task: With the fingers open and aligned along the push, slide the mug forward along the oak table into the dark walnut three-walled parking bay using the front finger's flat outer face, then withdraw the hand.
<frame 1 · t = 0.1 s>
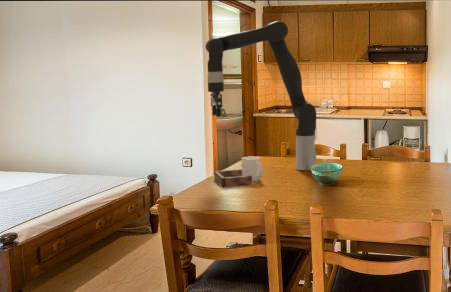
hand: (216, 115, 241), 29 cm above the table, fingers open, 8 cm apart
bay: (233, 182, 230), on the table
mug: (253, 181, 232), on the table
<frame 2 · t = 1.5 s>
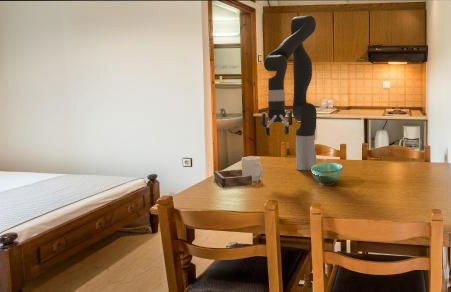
hand: (277, 135, 232), 20 cm above the table, fingers open, 8 cm apart
nothing on the table moved.
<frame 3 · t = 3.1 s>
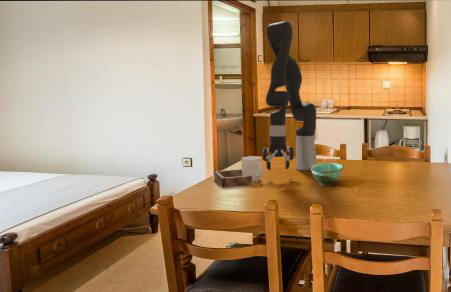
hand: (277, 169, 234), 4 cm above the table, fingers open, 8 cm apart
nothing on the table moved.
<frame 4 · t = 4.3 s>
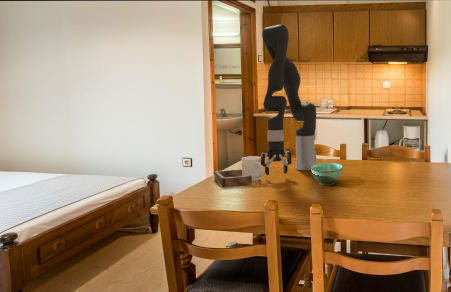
hand: (276, 174, 234), 2 cm above the table, fingers open, 8 cm apart
nothing on the table moved.
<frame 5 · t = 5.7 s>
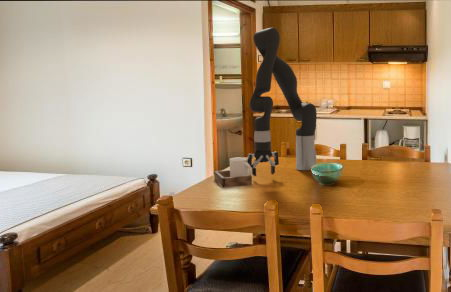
hand: (263, 175, 233), 2 cm above the table, fingers open, 8 cm apart
mug: (242, 181, 231), on the table, touching hand
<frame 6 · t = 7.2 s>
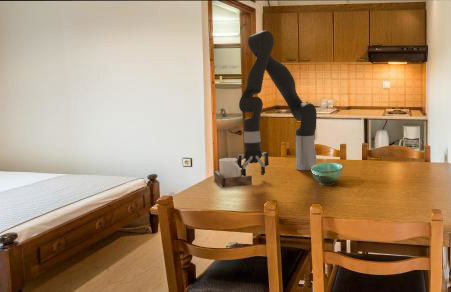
hand: (253, 175, 232), 2 cm above the table, fingers open, 8 cm apart
mug: (231, 182, 230), on the table, touching bay, hand
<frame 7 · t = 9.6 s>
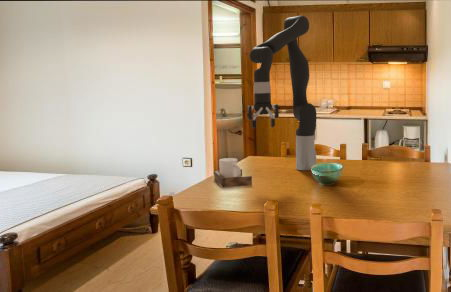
hand: (263, 127, 230), 24 cm above the table, fingers open, 8 cm apart
mug: (231, 182, 230), on the table
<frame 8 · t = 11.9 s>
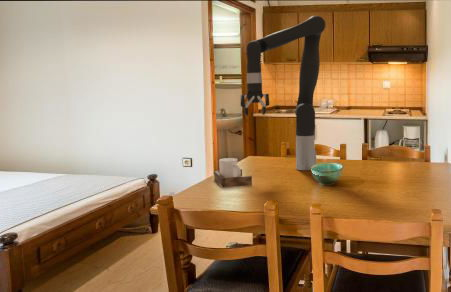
hand: (255, 115, 252), 28 cm above the table, fingers open, 8 cm apart
nothing on the table moved.
at the end: mug inside the target area on the bay (1.0 cm from its centre), point 0.0 cm above the bay's base; mug tilted 0°; the gripper is holding nothing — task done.
